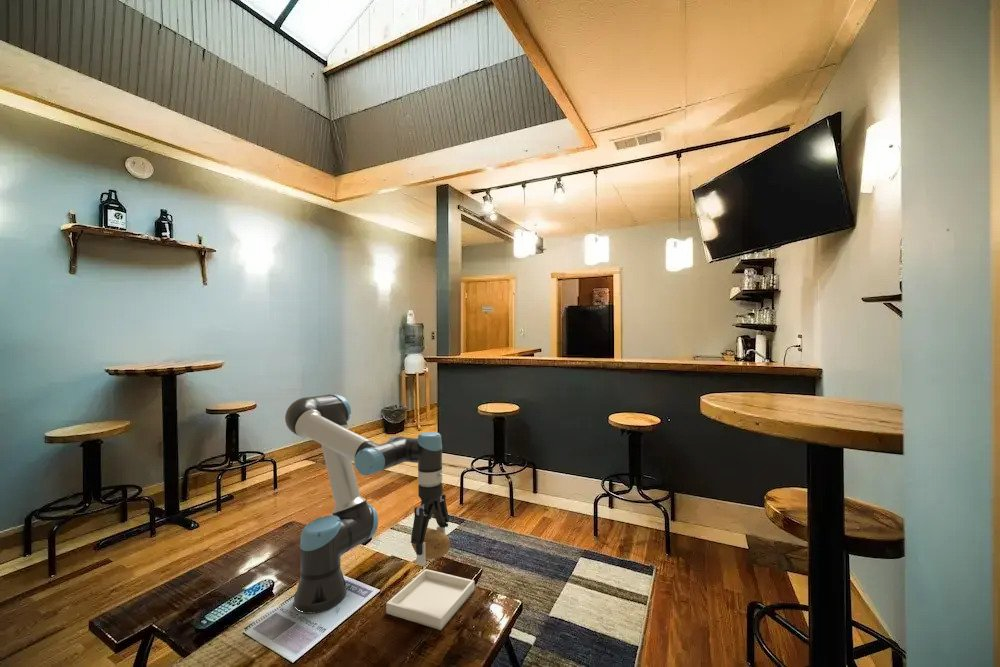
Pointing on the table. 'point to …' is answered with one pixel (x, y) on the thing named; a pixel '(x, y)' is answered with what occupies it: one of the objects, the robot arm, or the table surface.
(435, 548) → the potato
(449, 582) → the bin
